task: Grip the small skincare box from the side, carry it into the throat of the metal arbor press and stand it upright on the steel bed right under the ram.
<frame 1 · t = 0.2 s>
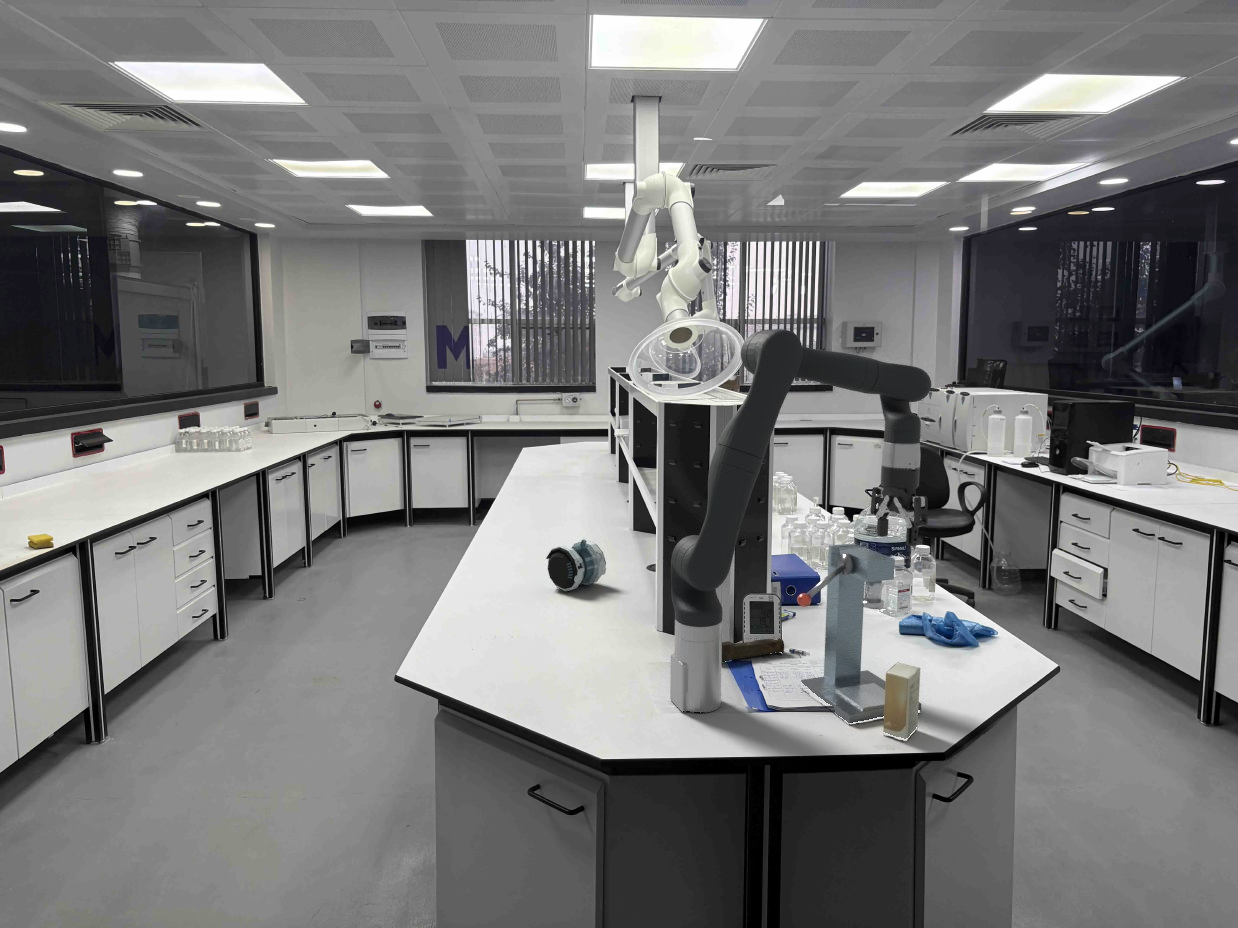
hand: (896, 540, 167), 30 cm above the lab bench, tool pointing down, fingers open, 8 cm apart
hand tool: (746, 660, 181), on the lab bench
arbor press: (868, 706, 156), on the lab bench
gadget: (576, 588, 235), on the lab bench
skincare box: (899, 734, 145), on the lab bench
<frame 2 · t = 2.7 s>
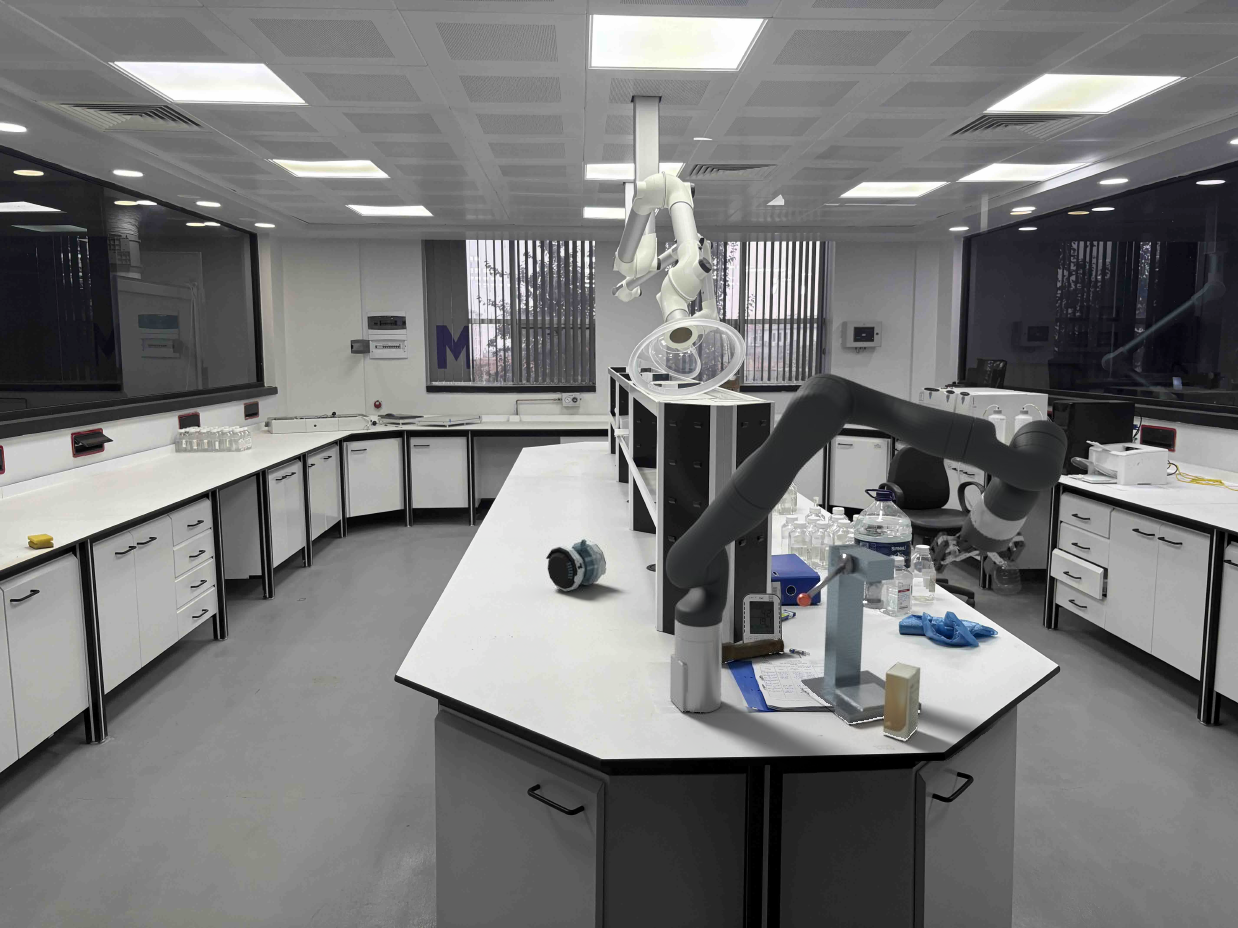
hand: (962, 569, 141), 31 cm above the lab bench, tool tilted 45°, fingers open, 8 cm apart
nothing on the lab bench moved.
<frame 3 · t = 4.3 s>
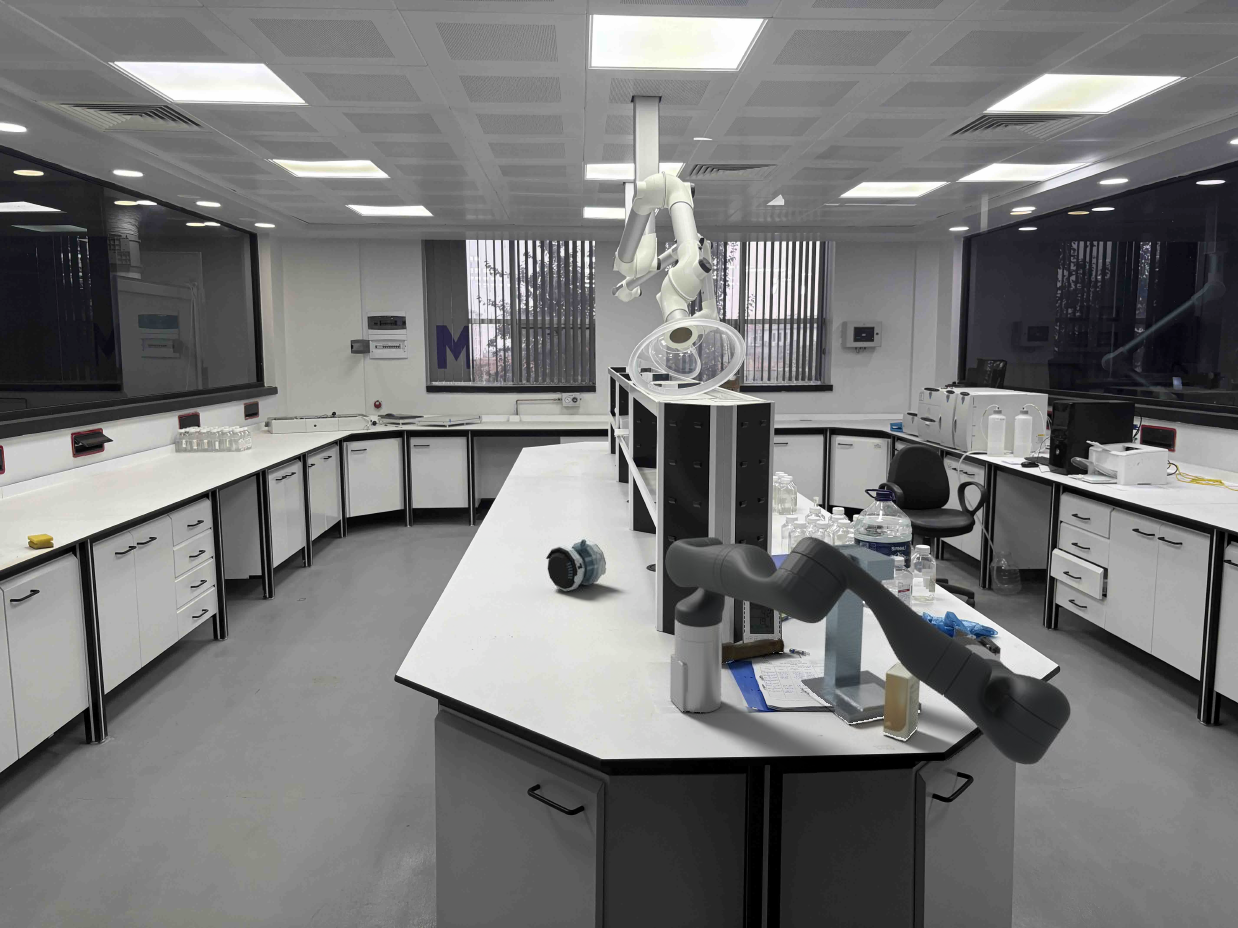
hand: (931, 634, 132), 23 cm above the lab bench, tool horizontal, fingers open, 8 cm apart
nothing on the lab bench moved.
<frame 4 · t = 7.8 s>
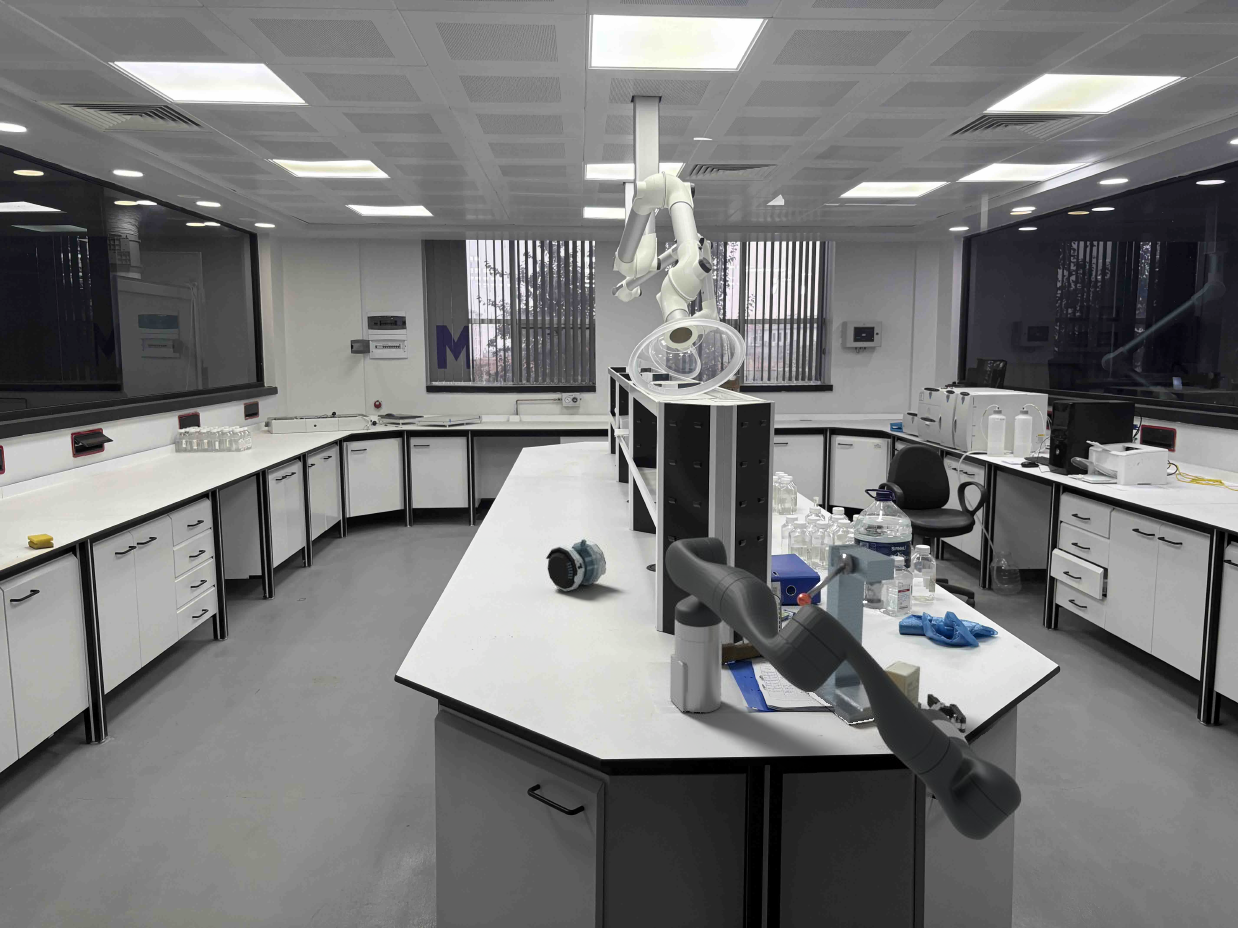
hand: (905, 698, 144), 7 cm above the lab bench, tool horizontal, fingers open, 8 cm apart
skincare box: (898, 732, 146), on the lab bench, touching gripper
everything else where it was.
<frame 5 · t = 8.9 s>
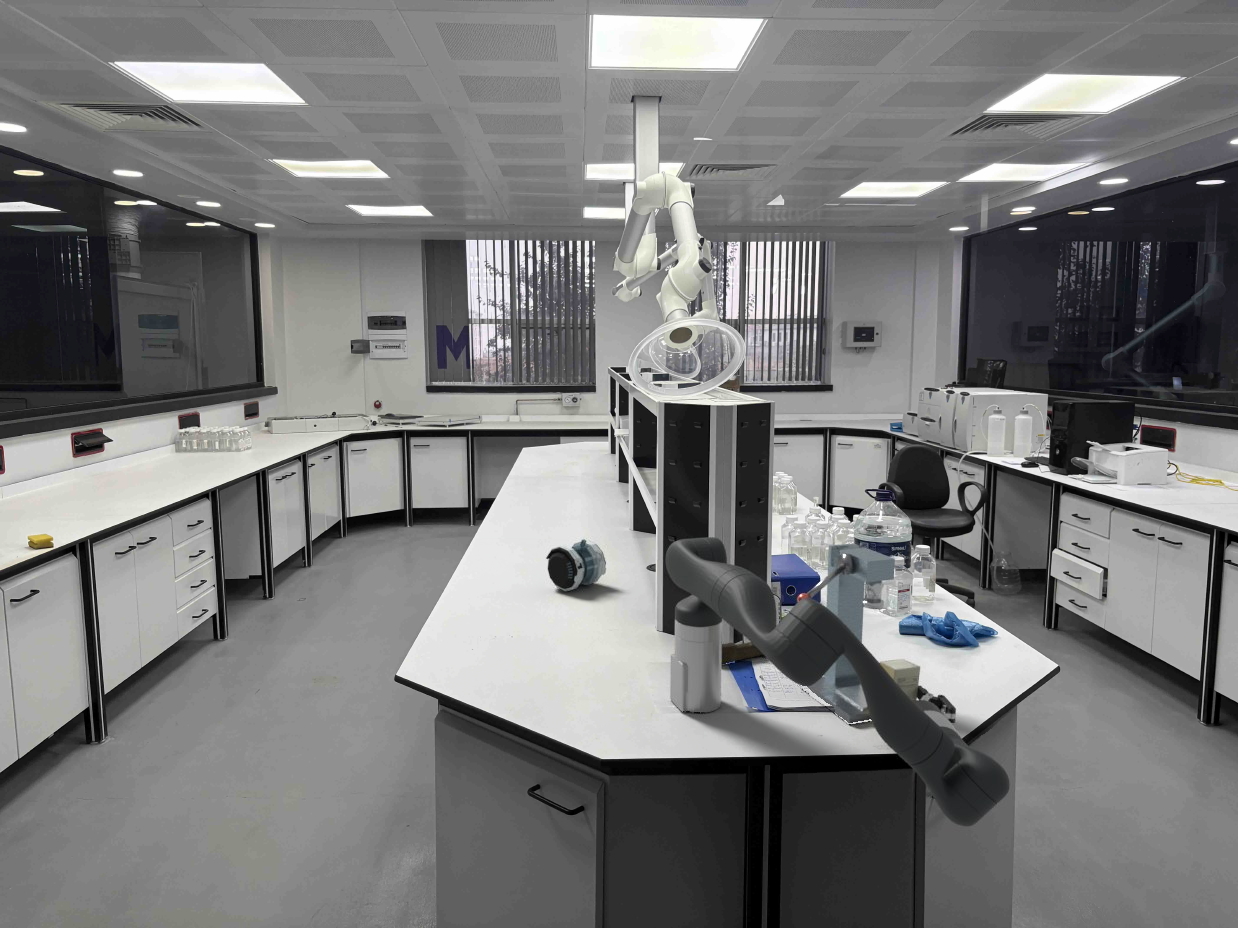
hand: (896, 690, 146), 7 cm above the lab bench, tool horizontal, fingers closed on skincare box, 7 cm apart
skincare box: (892, 728, 147), on the lab bench, touching gripper
everything else where it was.
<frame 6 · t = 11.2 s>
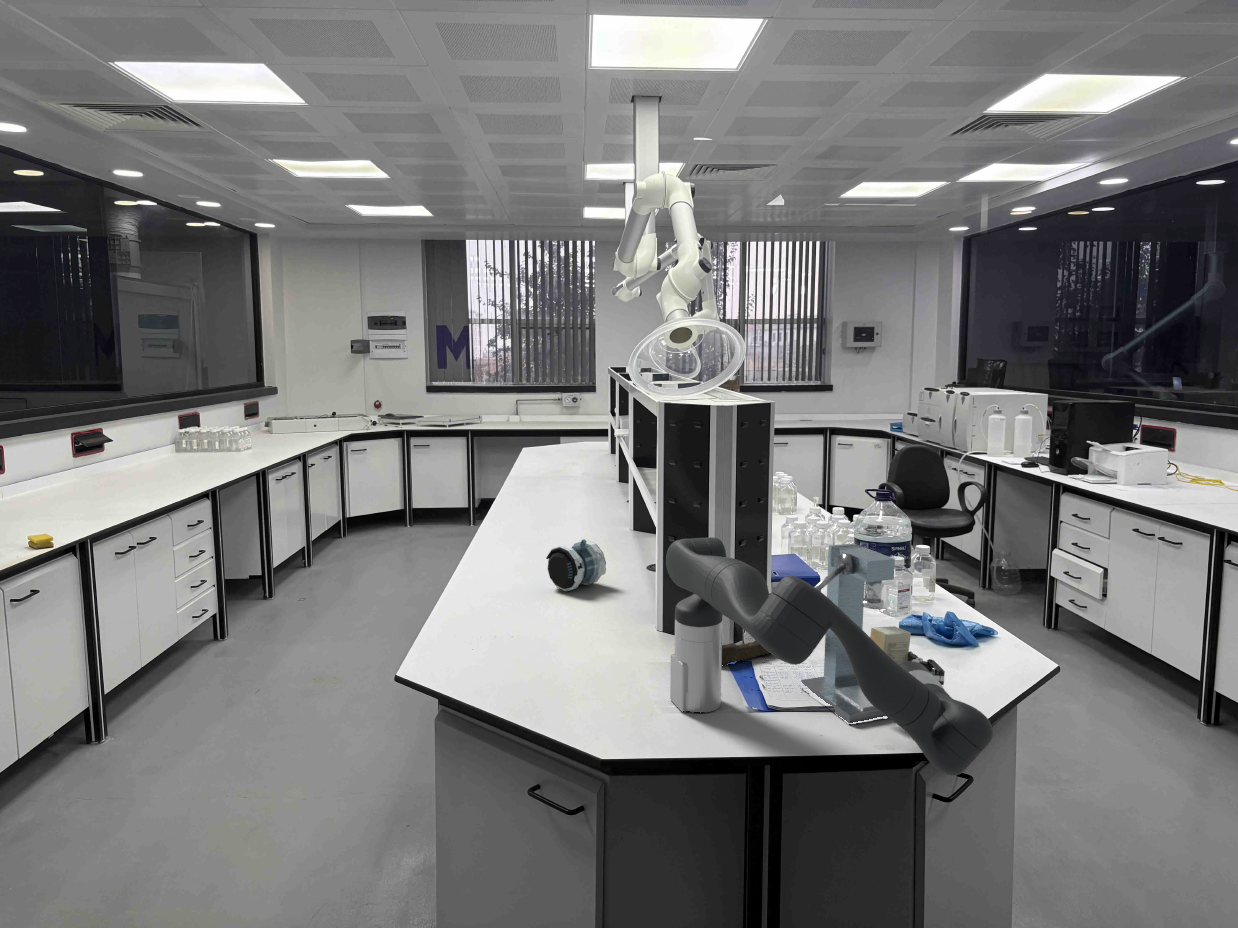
hand: (887, 655, 150), 12 cm above the lab bench, tool horizontal, fingers closed on skincare box, 7 cm apart
skincare box: (882, 693, 150), point 5 cm above the lab bench, touching gripper
when the fingers open (10 cm above the lab bench, at t = 13.6 s): skincare box stays where it is, resting on arbor press.
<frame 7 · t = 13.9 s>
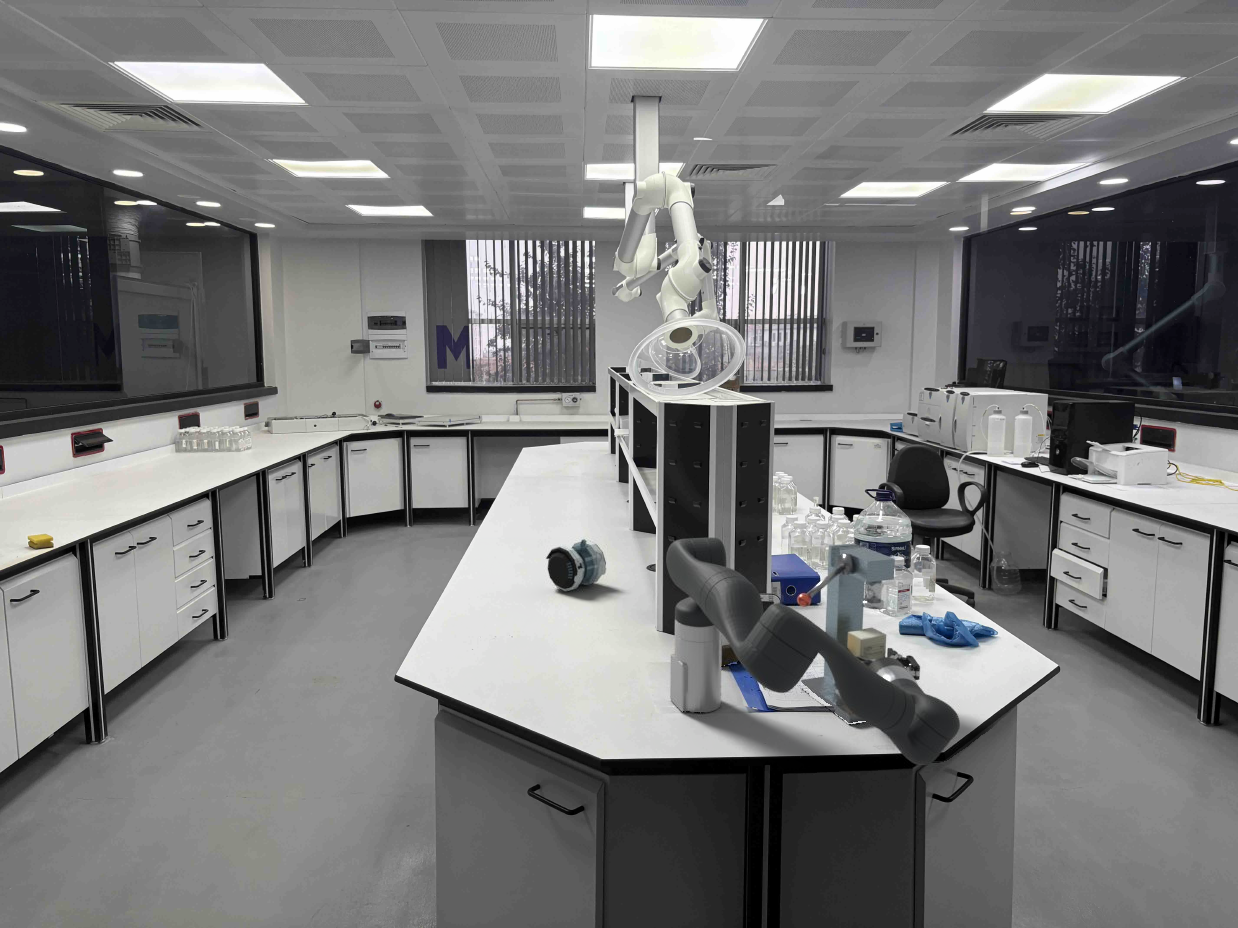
hand: (867, 652, 156), 10 cm above the lab bench, tool horizontal, fingers open, 8 cm apart
skincare box: (863, 692, 157), point 2 cm above the lab bench, touching arbor press, gripper
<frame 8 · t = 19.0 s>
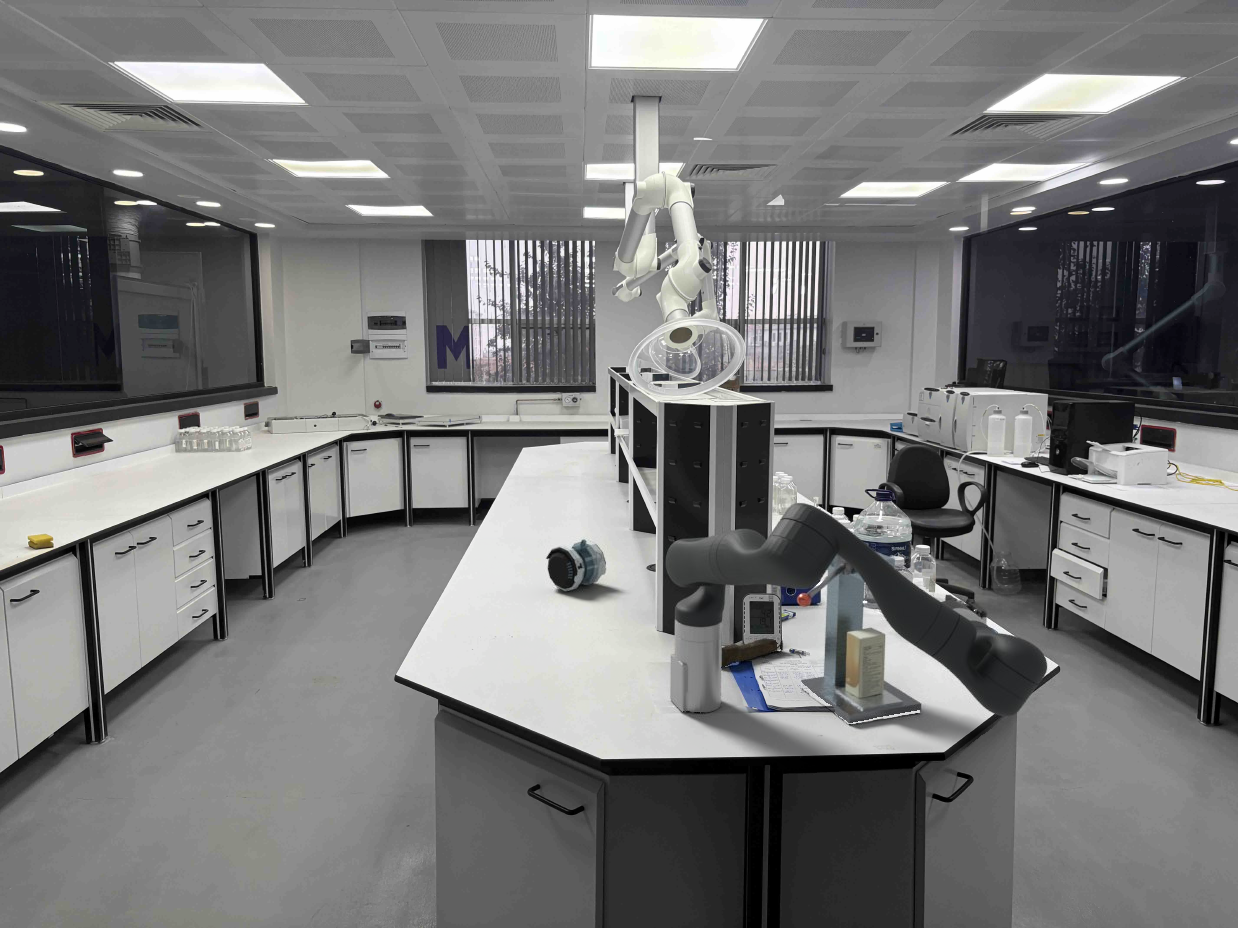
hand: (922, 599, 139), 26 cm above the lab bench, tool horizontal, fingers open, 8 cm apart
skincare box: (863, 692, 157), point 2 cm above the lab bench, touching arbor press
at the end: skincare box inside the target area on the arbor press (1.4 cm from its centre), point 2.3 cm above the arbor press's base; skincare box tilted 0°; the gripper is holding nothing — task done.
